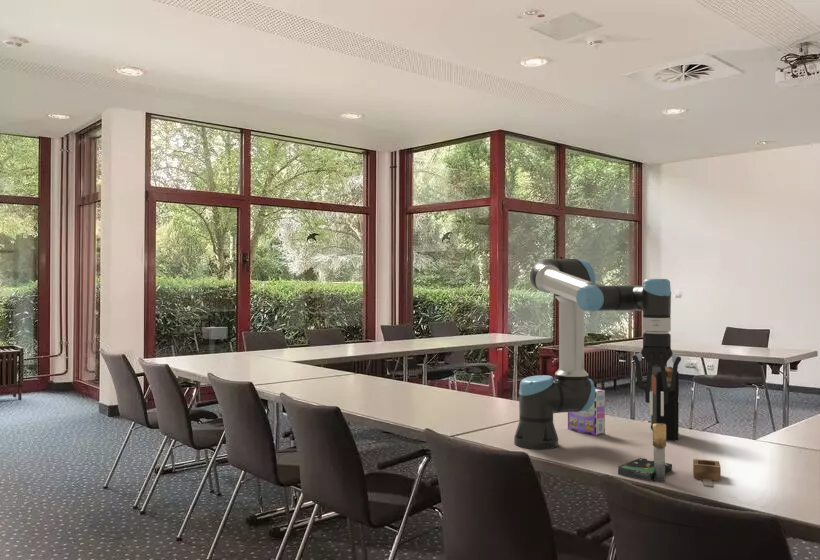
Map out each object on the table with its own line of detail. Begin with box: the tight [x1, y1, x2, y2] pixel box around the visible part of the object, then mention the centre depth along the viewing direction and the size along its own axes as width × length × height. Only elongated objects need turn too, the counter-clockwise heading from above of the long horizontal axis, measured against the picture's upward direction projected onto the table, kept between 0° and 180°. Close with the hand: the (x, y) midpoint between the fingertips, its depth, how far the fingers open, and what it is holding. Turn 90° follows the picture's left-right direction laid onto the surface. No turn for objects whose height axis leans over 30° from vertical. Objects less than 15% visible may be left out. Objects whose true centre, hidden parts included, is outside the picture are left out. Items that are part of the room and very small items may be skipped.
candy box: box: [567, 388, 606, 436], centre depth 259 cm, size 14×6×16 cm, turn 34°
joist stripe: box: [702, 478, 714, 488], centre depth 199 cm, size 2×21×1 cm, turn 159°
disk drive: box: [617, 457, 673, 482], centre depth 203 cm, size 10×3×15 cm
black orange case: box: [650, 365, 680, 441], centre depth 252 cm, size 16×9×25 cm, turn 168°
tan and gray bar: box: [652, 423, 667, 483], centre depth 195 cm, size 4×4×16 cm
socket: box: [692, 458, 722, 482], centre depth 199 cm, size 7×7×4 cm
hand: (656, 414), depth 196 cm, fingers open, 2 cm apart
